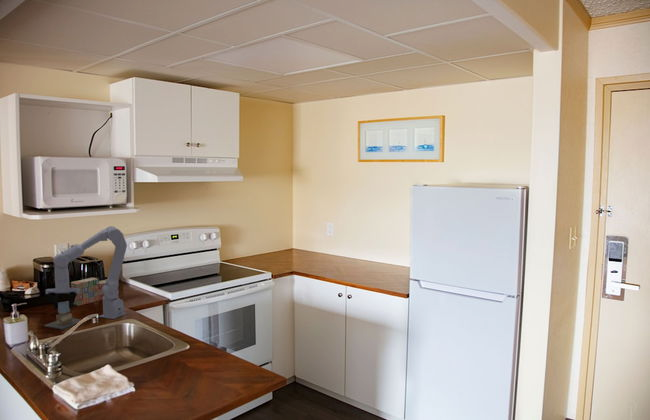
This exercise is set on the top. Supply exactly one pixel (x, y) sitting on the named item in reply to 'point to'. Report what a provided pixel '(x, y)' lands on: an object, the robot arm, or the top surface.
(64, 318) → the maple block
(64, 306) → the blue block
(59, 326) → the baseplate
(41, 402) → the top surface
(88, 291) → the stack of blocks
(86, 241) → the robot arm
